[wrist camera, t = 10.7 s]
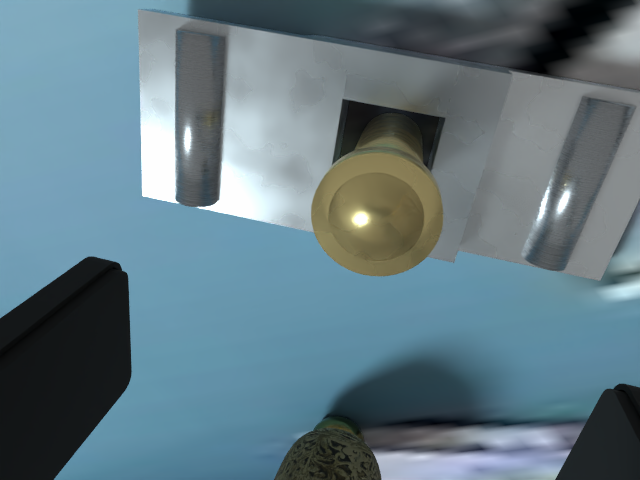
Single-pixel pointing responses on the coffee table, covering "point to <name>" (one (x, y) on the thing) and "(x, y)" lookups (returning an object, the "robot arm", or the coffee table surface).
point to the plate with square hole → (400, 93)
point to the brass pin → (379, 201)
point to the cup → (330, 454)
